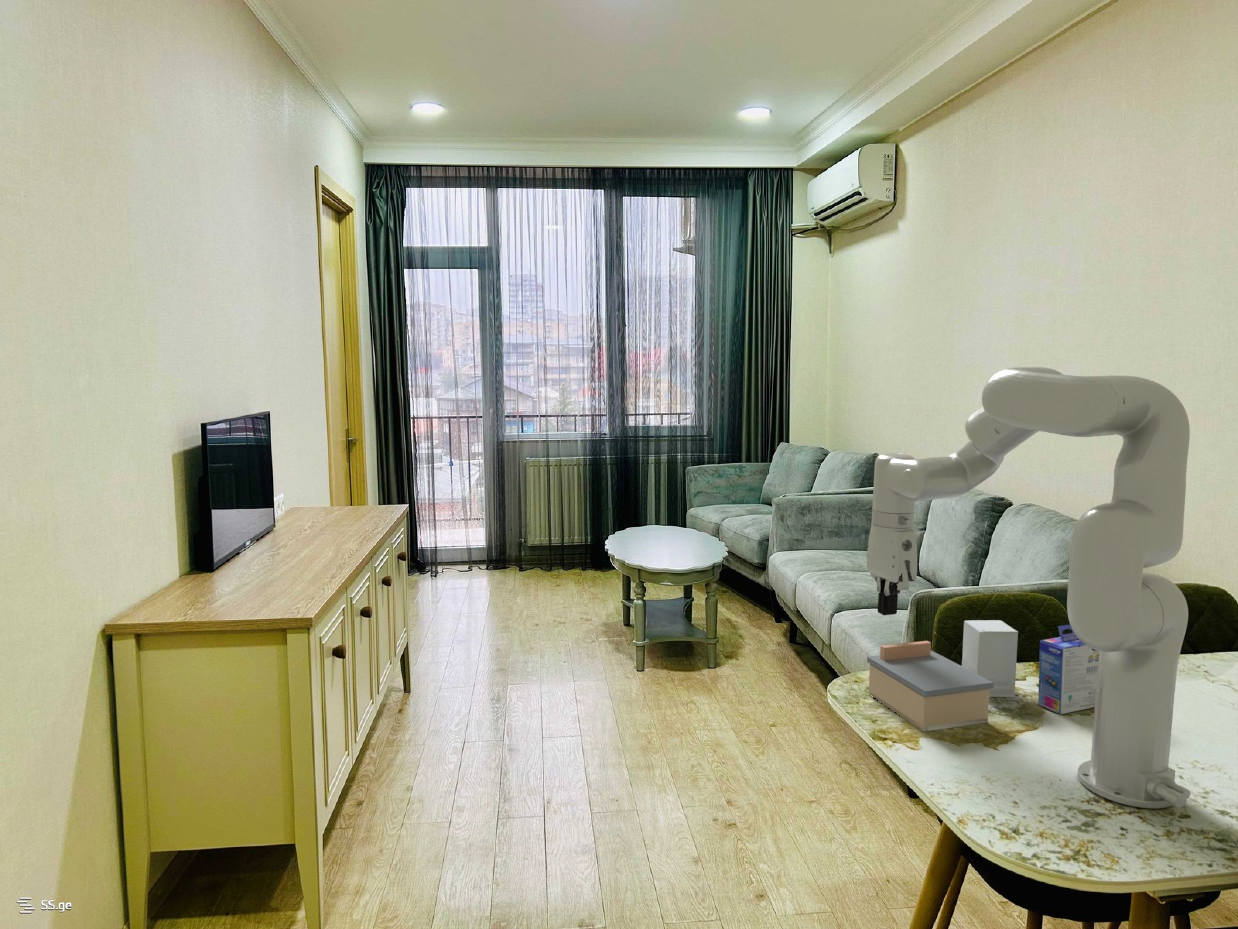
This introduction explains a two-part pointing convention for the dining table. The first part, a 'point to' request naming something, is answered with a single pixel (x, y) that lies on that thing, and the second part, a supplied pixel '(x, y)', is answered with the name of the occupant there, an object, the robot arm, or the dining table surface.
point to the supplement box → (991, 654)
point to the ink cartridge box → (1067, 673)
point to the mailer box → (929, 704)
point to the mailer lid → (926, 670)
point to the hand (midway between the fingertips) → (887, 613)
